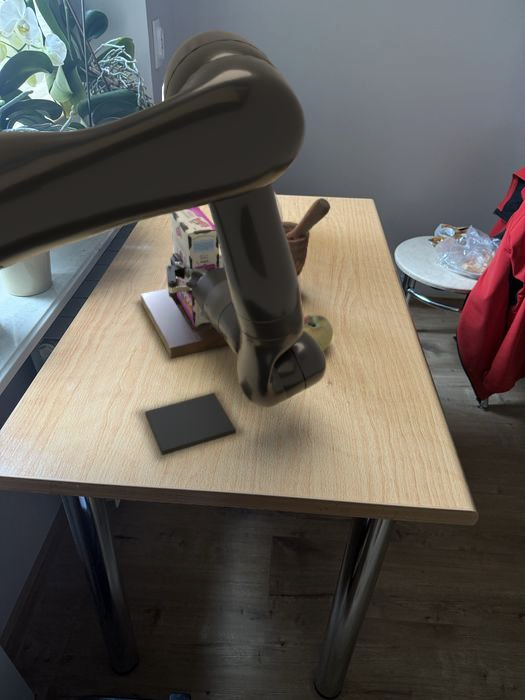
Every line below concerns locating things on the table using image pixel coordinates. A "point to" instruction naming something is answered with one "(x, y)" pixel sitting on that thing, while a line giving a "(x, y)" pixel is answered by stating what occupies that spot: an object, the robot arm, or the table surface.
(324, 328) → the apple
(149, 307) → the board
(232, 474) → the table surface
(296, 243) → the mortar and pestle
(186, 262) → the candy bar box
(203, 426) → the mat
